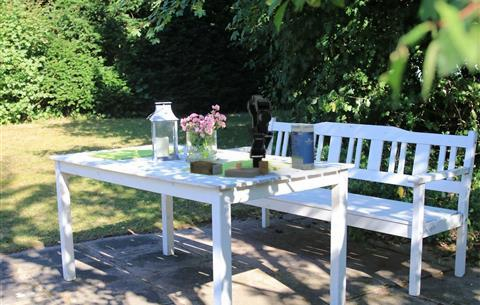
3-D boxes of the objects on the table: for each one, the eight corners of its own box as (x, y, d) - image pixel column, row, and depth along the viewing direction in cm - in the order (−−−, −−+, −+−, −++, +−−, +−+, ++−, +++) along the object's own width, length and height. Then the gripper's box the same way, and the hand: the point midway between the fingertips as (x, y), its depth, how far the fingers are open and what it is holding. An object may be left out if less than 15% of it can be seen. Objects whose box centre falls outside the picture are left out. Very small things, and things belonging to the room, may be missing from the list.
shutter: (232, 168, 315) (232, 161, 315) (242, 168, 313) (242, 161, 313) (227, 169, 310) (227, 163, 309) (238, 170, 307) (238, 163, 307)
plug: (261, 173, 318) (261, 160, 317) (268, 173, 316) (268, 160, 315) (259, 174, 314) (258, 161, 313) (265, 174, 312) (265, 161, 312)
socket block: (233, 173, 319) (233, 166, 318) (260, 174, 313) (260, 167, 312) (224, 176, 308) (224, 169, 307) (252, 178, 302) (252, 171, 301)
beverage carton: (212, 176, 313) (212, 164, 312) (189, 172, 326) (189, 161, 325) (223, 174, 319) (222, 162, 318) (199, 171, 332) (199, 159, 331)
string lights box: (314, 169, 329) (314, 124, 325) (304, 170, 325) (303, 124, 322) (301, 166, 340) (300, 123, 337) (290, 167, 336) (290, 123, 333)
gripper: (255, 120, 323) (255, 148, 325) (242, 123, 306) (243, 152, 308) (273, 120, 319) (274, 148, 321) (262, 123, 302) (262, 152, 304)
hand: (263, 150), depth 313 cm, fingers open, 9 cm apart
